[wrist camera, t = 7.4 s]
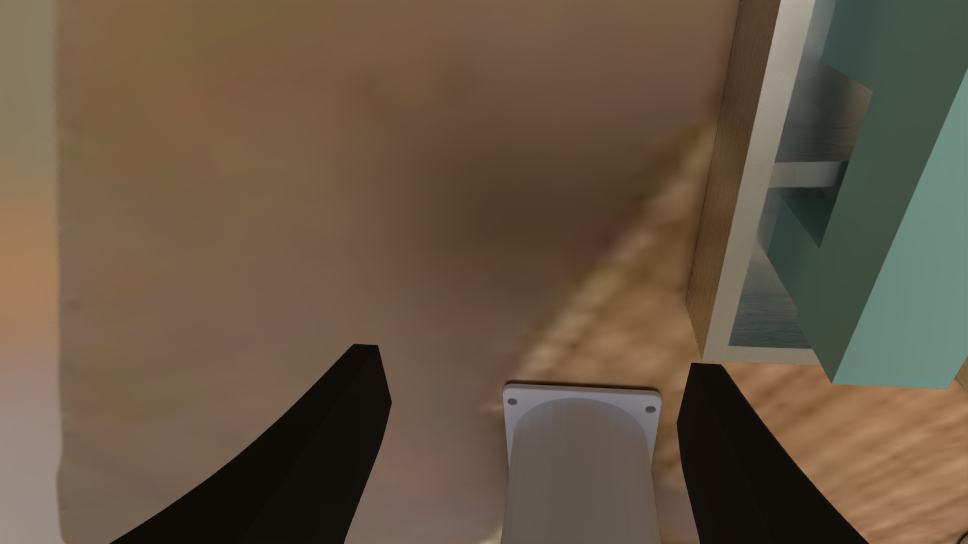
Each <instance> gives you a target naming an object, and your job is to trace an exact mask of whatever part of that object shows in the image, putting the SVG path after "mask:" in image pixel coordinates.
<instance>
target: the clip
mask: <svg viewBox="0 0 968 544" xmlns="http://www.w3.org/2000/svg"><path fill="white" fill-rule="evenodd" d="M821 61H823V62H825V63H826V64H828V65H830V66H831V67H833V68H835V69H836V70H838V71H840V72H841V73H843V74H845V75H846V76H848V77H850V78H851V79H853V80H855V81H856V82H858V83H860V84H861V85H863V86H865V87H866V88H868V89H870V90H871V91H873V93H872V96H871V99H870V102H869V105H868V108H867V111H866V114H865V117H864V120H863V123H862V126H861V129H860V132H859V135H858V138H857V141H856V143H855V146H854V149H853V152H852V155H851V158H850V161H849V164H848V167H847V170H846V173H845V176H844V179H843V182H842V185H841V188H840V191H839V193H838V196H837V198H782V202H781V206H780V209H779V213H778V217H777V220H776V224H775V228H774V231H773V235H772V239H771V242H770V246H769V249H768V253H767V257H768V259H769V260H770V262H771V264H772V266H773V268H774V269H775V271H776V273H777V275H778V277H779V278H780V280H781V282H782V284H783V285H784V287H785V289H786V291H787V293H788V294H789V296H790V298H791V300H792V301H793V303H794V305H795V307H796V309H797V310H798V314H797V317H796V320H797V321H798V323H799V325H800V327H801V329H802V331H803V332H804V334H805V336H806V338H807V340H808V342H809V343H810V345H811V347H812V349H813V351H814V353H815V354H816V356H817V358H818V360H819V362H820V364H821V365H822V367H823V369H824V371H825V373H826V375H827V376H828V378H829V380H830V382H831V384H842V385H864V386H885V387H907V388H929V389H948V387H949V386H950V384H951V382H952V381H953V379H954V377H955V376H956V374H957V373H958V371H959V369H960V368H961V366H962V364H963V363H964V361H965V360H966V358H967V356H968V0H837V1H836V5H835V9H834V12H833V16H832V20H831V23H830V27H829V31H828V34H827V38H826V41H825V45H824V49H823V52H822V56H821Z"/></svg>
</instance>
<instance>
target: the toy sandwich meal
mask: <svg viewBox="0 0 968 544" xmlns="http://www.w3.org/2000/svg"><path fill="white" fill-rule="evenodd" d="M955 378H956V380H957V381H958V382H959V384H960V385H961V386H962V387H963V388H964V389H965V390H966V391H967V392H968V356H967V358H966V360H965V361H964V363H963V364H962V366H961V368H960V369H959V371H958V373H957V374H956V376H955Z"/></svg>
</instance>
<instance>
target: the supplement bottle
mask: <svg viewBox="0 0 968 544" xmlns="http://www.w3.org/2000/svg"><path fill="white" fill-rule="evenodd" d="M960 544H968V535H967V536H965V537H964V539H963V540H962V541H961V542H960Z"/></svg>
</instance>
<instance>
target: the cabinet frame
mask: <svg viewBox="0 0 968 544" xmlns="http://www.w3.org/2000/svg"><path fill="white" fill-rule="evenodd" d="M836 1H837V0H741V2H740V7H739V13H738V18H737V24H736V29H735V35H734V40H733V46H732V52H731V57H730V63H729V68H728V74H727V79H726V85H725V90H724V96H723V102H722V107H721V113H720V118H719V124H718V129H717V135H716V140H715V146H714V152H713V157H712V163H711V168H710V174H709V179H708V185H707V190H706V196H705V202H704V207H703V213H702V218H701V224H700V229H699V235H698V240H697V246H696V251H695V257H694V263H693V268H692V274H691V279H690V285H689V290H688V296H687V301H686V306H687V310H688V313H689V317H690V320H691V324H692V327H693V331H694V334H695V338H696V341H697V345H698V348H699V352H700V355H701V359H702V361H723V362H748V363H772V364H796V365H821V364H820V362H819V360H818V358H817V356H816V354H815V353H814V351H813V349H812V347H811V345H810V343H809V342H808V340H807V338H806V336H805V334H804V332H803V331H802V329H801V327H800V325H799V323H798V321H797V320H796V317H797V314H798V310H797V309H796V307H795V305H794V303H793V301H792V300H791V298H790V296H789V294H788V293H787V291H786V289H785V287H784V285H783V284H782V282H781V280H780V278H779V277H778V275H777V273H776V271H775V269H774V268H773V266H772V264H771V262H770V260H769V259H768V257H767V253H768V249H769V246H770V242H771V239H772V235H773V231H774V228H775V224H776V220H777V217H778V213H779V209H780V206H781V202H782V198H837V196H838V193H839V191H840V188H841V185H842V182H843V179H844V176H845V173H846V170H847V167H848V164H849V161H850V158H851V155H852V152H853V149H854V146H855V143H856V141H857V138H858V135H859V132H860V129H861V126H862V123H863V120H864V117H865V114H866V111H867V108H868V105H869V102H870V99H871V96H872V93H873V91H871V90H870V89H868V88H866V87H865V86H863V85H861V84H860V83H858V82H856V81H855V80H853V79H851V78H850V77H848V76H846V75H845V74H843V73H841V72H840V71H838V70H836V69H835V68H833V67H831V66H830V65H828V64H826V63H825V62H823V61H821V56H822V52H823V49H824V45H825V41H826V38H827V34H828V31H829V27H830V23H831V20H832V16H833V12H834V9H835V5H836ZM821 366H822V365H821Z"/></svg>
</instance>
